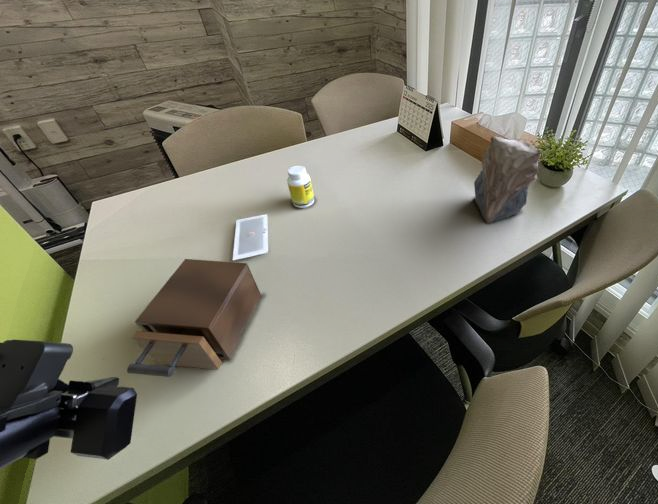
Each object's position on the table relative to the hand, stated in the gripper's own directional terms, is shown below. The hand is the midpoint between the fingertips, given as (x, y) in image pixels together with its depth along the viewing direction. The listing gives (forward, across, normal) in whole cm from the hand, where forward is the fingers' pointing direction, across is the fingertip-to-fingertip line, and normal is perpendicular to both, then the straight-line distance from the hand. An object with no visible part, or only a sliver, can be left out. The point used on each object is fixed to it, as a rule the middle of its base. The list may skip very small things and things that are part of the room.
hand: (116, 381), depth 43 cm
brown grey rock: (+50, -59, -31) cm, 83 cm away
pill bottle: (+49, -5, -30) cm, 58 cm away
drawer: (+17, 0, +1) cm, 17 cm away
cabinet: (+21, 0, -2) cm, 21 cm away
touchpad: (+38, +3, -19) cm, 42 cm away
